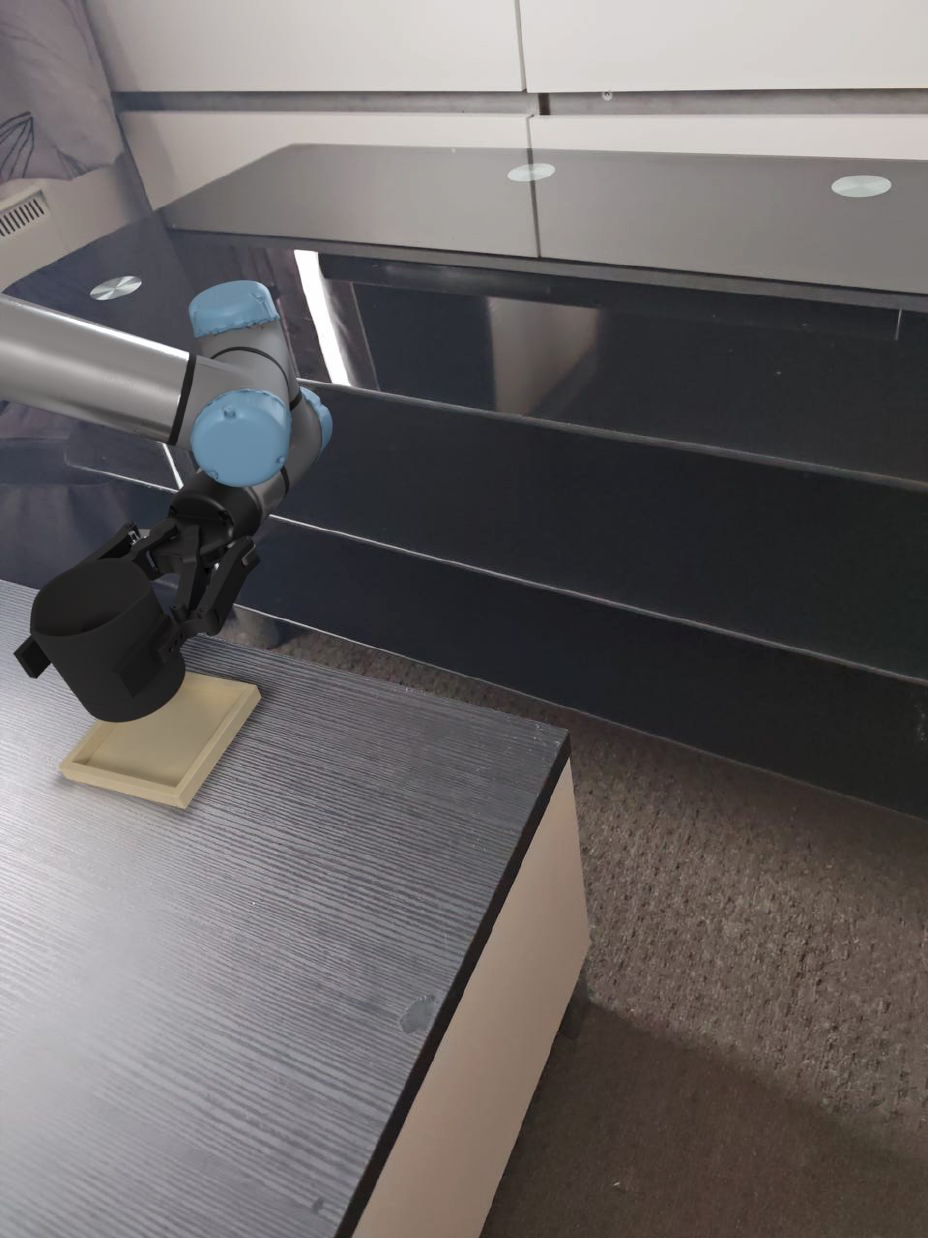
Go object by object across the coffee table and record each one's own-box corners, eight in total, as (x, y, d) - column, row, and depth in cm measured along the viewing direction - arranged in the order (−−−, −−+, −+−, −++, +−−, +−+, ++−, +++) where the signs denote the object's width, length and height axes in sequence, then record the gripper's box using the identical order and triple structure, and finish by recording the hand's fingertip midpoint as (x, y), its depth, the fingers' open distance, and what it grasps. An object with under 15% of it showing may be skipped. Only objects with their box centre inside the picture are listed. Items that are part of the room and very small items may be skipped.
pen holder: (213, 656, 78) (170, 565, 71) (148, 739, 72) (93, 648, 65) (128, 639, 81) (78, 551, 75) (58, 717, 75) (-2, 629, 69)
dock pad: (68, 781, 79) (57, 767, 78) (152, 678, 88) (143, 663, 86) (186, 811, 75) (177, 797, 73) (263, 699, 83) (256, 684, 82)
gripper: (339, 546, 83) (205, 733, 68) (148, 523, 91) (-8, 687, 76) (317, 476, 78) (168, 662, 63) (118, 459, 86) (-57, 621, 71)
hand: (72, 675), depth 70 cm, fingers closed on pen holder, 9 cm apart
